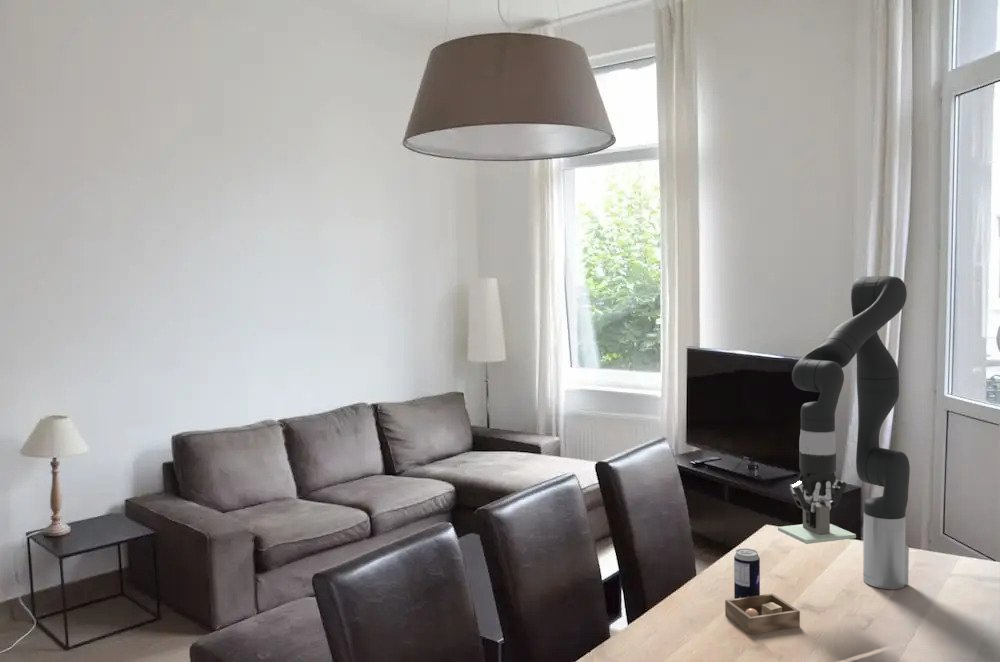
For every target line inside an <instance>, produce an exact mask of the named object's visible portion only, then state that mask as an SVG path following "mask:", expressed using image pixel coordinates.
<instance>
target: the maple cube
mask: <svg viewBox="0 0 1000 662" xmlns="http://www.w3.org/2000/svg"><path fill="white" fill-rule="evenodd" d="M781 612H782V607H781V606H779V605H777V604H775V603H773V602H771V603H767V604H763V605H762V615H767V614H774V613H781Z"/></svg>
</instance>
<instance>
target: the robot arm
mask: <svg viewBox="0 0 1000 662" xmlns="http://www.w3.org/2000/svg"><path fill="white" fill-rule="evenodd" d="M850 291H851V293H850V305H851V312H852V317H851V318H849V319H847V320H845V321H844V322H841V323H840V324H839V325H838V326H836V327H835V328H834V329H833V330H832V331H831V332H830V333H829V335H827V337H826V338H825V339H824V341H823V342H822V343H821V345H819V346H816V347H815V348H814V349H812V350H811V351H809V352H808V353H806V354H805V355H803V356H802V357H800V359H799V360H798V361H797V362H796V363H795V364H794V367H793V369H792V371H791V380H792V383H793V385H794V386H795V387H796V388H797V389H798V390H801V391H806V392H813V393H820V394H819V397H818V399H817V401H809V402H805V403H803V404H802V406H801V408H800V434H799V444H798V445H799V446H798V447H799V450H798V451H799V456H798V458H799V461H798V462H799V471H800V474H799V475H800V476H799V478H798V481H797V482H796V483H794V484H792V483H791V484H789V485H788V489H789V492H790V494H791V495H792V497H793V499H794V502H795V504H796V506H797V508H799V509H802V510H803V509H804V510H805V511H806V524H807V525H808V527H810V528H812V529H813V528H816V512H815V510H816V503H817V502H818V503H821V504H823V505H826V506H828V507H830V510H831V509H832V508H836V507H838V506H839V503H840V501H841V498H842V496H843V494H844V492H845V489H846V487H847V483H846V482H845V481H843V480H840V479H837V476H836V475H835V473H836V471H837V437H836V409H837V406H838V403H839V402H838V401H839V399H840V395H841V391H842V389H843V386H844V385H843V384H844V381H845V375H844V371H843V368H845V367H846V366H848V365H849V363H850V362H851V361H852V359H853V358H855V355H856V392H857V393H856V394H857V410H858V411H857V416H858V417H857V420H858V421H857V425H858V426H857V439H856V441H857V443H856V453H855V454H856V455H855V456H856V457H855V468H856V473H857V477H858V478H859V480H860V481H861V482H863V483H865V484H869V485H874V486H878V487H883V495H882V496H877V497H870V498H866V499H865V500H864V502H863V540H862V541H863V553H862V554H863V555H862V556H863V562H862V563H863V569H862V570H863V573H862V579H863V582H864V583H865V584H867V585H869V586H870V587H871V586H872V587H874V588H879V589H884V590H898V589H902V588H904V587H905V586H907V585H909V574H910V572H909V571H910V570H909V569H910V568H909V567H910V566H909V563H910V561H909V557H910V556H909V554H910V553H909V552H910V548H909V546H908V545H907V544H906V516H907V515H906V514H907V513H906V510H907V506H908V501H909V485H910V475H911V474H910V472H911V471H910V469H911V467H910V460H909V458H908V456H907V454H906V453H904V452H902V451H900V450H895V449H890V448H889V449H888V448H882V447H880V434H881V433H880V431H881V428H882V426H883V424H884V422H885V420H886V418H887V417H888V415H890V413H891V411H892V410H893V409H894V408H895V407H894V406H895V405H896V403H897V401H898V399H899V396H900V379H899V378H900V377H899V376H900V375H899V374H900V371H899V367H898V365H897V362H896V361H895V359H894V357H893V356H892V355H891V353H890V351H889V350H888V349H887V346H886V345H884V342H883V341H882V340H881V337H880V335H879V334H878V331H879V330H881V328H883V327H884V326H885V325H886V324H887V323H889V322H890V320H891V321H892V319H893V318H895V317H896V316H897V315H898V314H899V313H900V312H901V311H902V309H903V308H904V306H905V304H906V301H907V297H908V296H907V295H908V294H907V292H908V291H907V286H906V284H905V282H904V281H903V280H902V279H901V278H899V277H898V276H891V275H890V276H889V275H885V276H883V275H882V276H881V275H880V276H877V275H876V276H859V277H857V278H856V279H855V280H854V282H853V284H852V286H851V290H850Z"/></svg>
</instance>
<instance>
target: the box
mask: <svg viewBox="0 0 1000 662" xmlns="http://www.w3.org/2000/svg"><path fill="white" fill-rule="evenodd" d="M771 602H773V603H775V604H777V605H779V606H781V607H782V612H781V613H774V614H767V615H762V605H763V604H767V603H771ZM724 603H725V604H724V606H725V607H724V611H725V613H724V615H725V617H727V618H728V619H729V620H730V621H732V622H734V624H736V625H737V626H739V627H740V628H741V629H743V630H744V631H745V632H747V633H748V634H749V635H756V634H761V633H762V634H763V633H769V632H774V631H780V630H787V629H794V628H795V629H797V628H800V627H801V618H800V617H801V616H800V615H801V613H800V612H801V611H800V610H799V609H797V608H796V607H794V606H792V605H791V604H789V602H786V601H785V600H783V599H782V598H780V597H779V596H778V595H776V594H774V593H768V594H766V593H765V594H760V595H759V596H751V597H744V598H737V599H735V598H731V599H725V601H724ZM749 608H753V609H755V610H756V611H757V612H758V614H759V616H753V617H751V616H749V615H748V614H747V613H745V611H746V610H747V609H749Z"/></svg>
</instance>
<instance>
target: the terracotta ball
mask: <svg viewBox="0 0 1000 662" xmlns="http://www.w3.org/2000/svg"><path fill="white" fill-rule="evenodd" d="M745 613H747V614H748V615H749V616H751V617H753V616H759V614H758V612H757V611H756V610H755V609H753V608H749V609H747V610H746V611H745Z"/></svg>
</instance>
